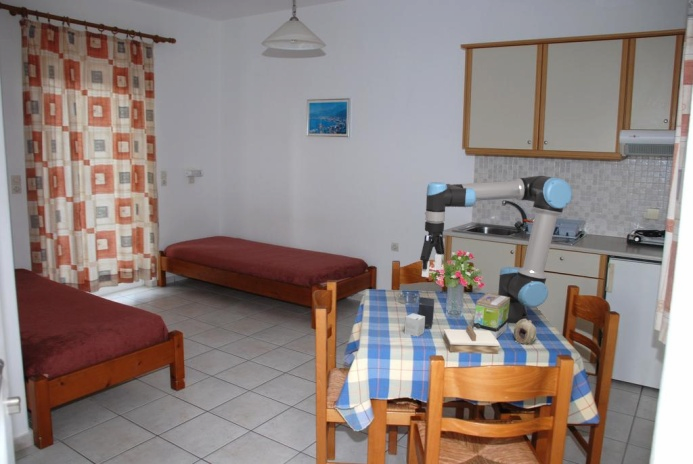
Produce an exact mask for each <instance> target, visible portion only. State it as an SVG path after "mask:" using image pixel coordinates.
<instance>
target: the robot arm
mask: <svg viewBox="0 0 693 464" xmlns="http://www.w3.org/2000/svg"><path fill="white" fill-rule="evenodd" d="M572 197H573V190H572V187H571V185H570V184H569V182H567V181H566V180H564V179H562V178H559V177H552V176H546V175H535V176H527V177H518V178H515V180H507V181H489V182H487V181H486V182H474V183H473V182H472V183H460V184H459V183H456V184H451V183H445V182H436V181H435V182H429V183H428V184H427V188H426V202H425V203H426V205H425V212H424V215H425V222H424V231H426V232H428V234H427V235H426V234H425V235H424V239H423V244H422V250H421V254H420V259H419V260H420V261H422V263H421V277H423V278H429V277H430V266H431V265H430V262H431V261H430V259H431V254H432V252H433V248H434V249H435V254H434V270H435V271H436V270H437V271H442V262H443V260H442V259H443V255H444V256H445V245H444V243H445V242H444V236H443V235H444V230H445V223H444V222H445V220H446V219H445V218H446V208H450V207H451V208H452V207H455V208H471V207H473V206H474V205H475V204H476V202H477V201H494V200H509V199H516V200H517V201H528V202H533V205H532V208H533V210H534V211H535V213H534V218H533V223H532V226H531V230H530V233H529V234H530V235H529V240H528V244H527V247H526V248H527V249H526V252H525V257H524V261H523V266H522V267H518V266H517V267H516V266H504V267H501V269H500V273H499V279H498V280H499V281H498V292H497V293H498V294H497V295H500V296H505V297H510V304H509V313H508V322H507V323H512V324H513V323H514V324H516V323H517V322H518V321H519V320H521V319H527V320H528V310H527V308H538V307H540V306H541V305H542V304H543V303H545V301H546V300H547V298H548V295H549V289H548V288H547V285H546V280H547V275H546V273H545V268H546V263H547V261H548V256H549V253H550V248H551V244H552V239H553V235H554V230H555V228H556V227H555V226H556V223H557V220H558V216H560V215H561V214H563V211H564V208H565V207H567V205H569V204H570V203H571V201H572V199H573V198H572Z"/></svg>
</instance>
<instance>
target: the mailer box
mask: <svg viewBox="0 0 693 464" xmlns="http://www.w3.org/2000/svg"><path fill="white" fill-rule="evenodd" d="M443 340H444V341H443V342H444V343H445V345H446V347H447V349H448V351H449V353H459V354H460V353H461V354H462V353H463V354H468V353H469V354H489V355H490V354H492V355H493V354H494V355H498V354H499V347H500V346H485V345H454V344H450V343H449V341H448V339H447V337H446V335H445V333H444V332H443Z"/></svg>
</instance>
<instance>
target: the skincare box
mask: <svg viewBox="0 0 693 464" xmlns="http://www.w3.org/2000/svg"><path fill="white" fill-rule="evenodd" d="M424 327H425V316H421V315H418V313H413V312H412V313H411V314H408V315H407V316H405V320H404V334H405V333H406V334H405V335H408V334H410V335H409V336H411V335H413V336H412V337H415V336H417V337H416V338H419V337H420V336H421V335H423V334H425V328H424Z"/></svg>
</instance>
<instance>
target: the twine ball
mask: <svg viewBox="0 0 693 464" xmlns="http://www.w3.org/2000/svg"><path fill="white" fill-rule="evenodd" d="M513 337H514V342H515V343H516V342H518V343H522V344H521V345H524V344H526V345H531V344H533V342H534V341H535V339H536V337H537V327H536V326H535V324H534V323H532V320H530V319H529V320H528V318H527V319H521V320H519V321H518V322H517V323H515V324H514V327H513ZM518 343H517V344H518ZM530 343H531V344H530Z"/></svg>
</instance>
